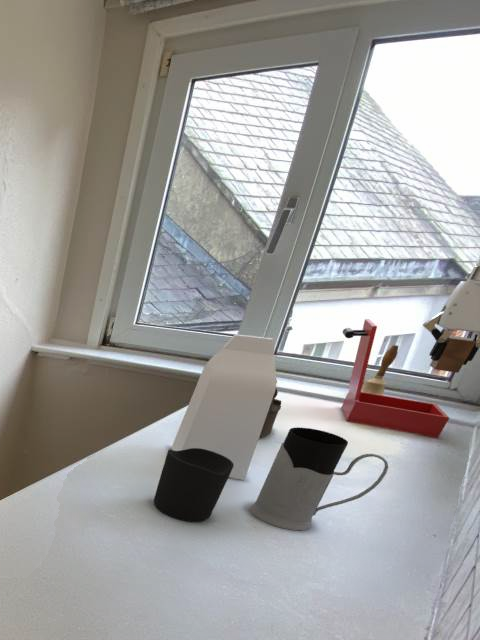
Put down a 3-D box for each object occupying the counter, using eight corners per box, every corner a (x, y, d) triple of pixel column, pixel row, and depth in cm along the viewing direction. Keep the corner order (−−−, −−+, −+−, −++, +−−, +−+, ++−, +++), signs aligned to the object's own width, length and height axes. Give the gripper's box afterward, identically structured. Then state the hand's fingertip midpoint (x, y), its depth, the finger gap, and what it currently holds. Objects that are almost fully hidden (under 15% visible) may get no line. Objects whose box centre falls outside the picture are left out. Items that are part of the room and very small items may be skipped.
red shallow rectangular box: (425, 423, 144) (436, 404, 142) (437, 438, 134) (449, 417, 132) (340, 408, 153) (349, 389, 150) (346, 421, 143) (355, 401, 140)
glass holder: (247, 499, 99) (281, 422, 92) (345, 522, 93) (389, 441, 86) (251, 520, 92) (288, 438, 86) (358, 546, 86) (407, 460, 80)
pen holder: (213, 530, 89) (236, 475, 84) (149, 513, 93) (167, 460, 88) (210, 506, 96) (231, 454, 92) (151, 492, 100) (168, 441, 96)
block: (452, 368, 126) (469, 338, 123) (458, 372, 123) (476, 341, 120) (429, 365, 128) (445, 335, 125) (434, 369, 125) (451, 338, 122)
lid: (369, 319, 143) (343, 319, 146) (377, 326, 133) (349, 326, 136) (352, 388, 150) (327, 387, 153) (358, 400, 140) (332, 399, 143)
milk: (175, 466, 111) (220, 337, 99) (171, 447, 120) (212, 327, 109) (244, 480, 107) (300, 347, 95) (234, 459, 116) (285, 335, 104)
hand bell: (386, 399, 163) (414, 346, 156) (385, 405, 157) (414, 350, 150) (350, 392, 168) (376, 340, 161) (348, 398, 162) (374, 344, 155)
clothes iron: (225, 436, 128) (246, 380, 122) (234, 419, 140) (254, 368, 133) (265, 445, 124) (290, 388, 118) (272, 427, 135) (294, 374, 129)
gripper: (545, 280, 115) (494, 365, 123) (437, 271, 123) (396, 352, 132) (559, 282, 110) (505, 372, 118) (445, 273, 118) (402, 357, 126)
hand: (448, 360), depth 125 cm, fingers closed on block, 4 cm apart
